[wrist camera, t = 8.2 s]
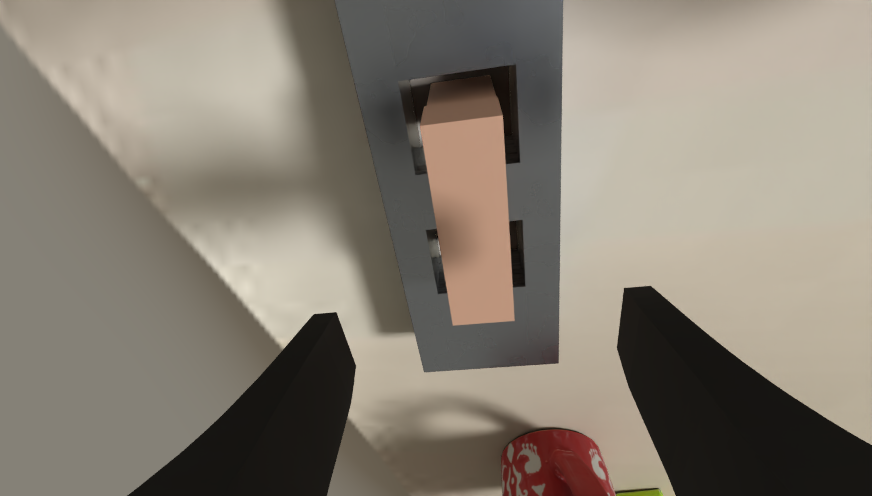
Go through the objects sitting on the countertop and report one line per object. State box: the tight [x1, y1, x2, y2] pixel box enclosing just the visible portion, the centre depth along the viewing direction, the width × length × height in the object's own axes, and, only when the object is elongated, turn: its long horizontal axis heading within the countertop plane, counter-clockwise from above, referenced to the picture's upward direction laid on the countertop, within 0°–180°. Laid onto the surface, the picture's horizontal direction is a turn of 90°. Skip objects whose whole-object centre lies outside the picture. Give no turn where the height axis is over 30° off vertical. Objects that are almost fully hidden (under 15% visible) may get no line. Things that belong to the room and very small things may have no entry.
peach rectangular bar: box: [420, 75, 515, 326], centre depth 17 cm, size 2×8×6 cm, turn 8°
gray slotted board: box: [335, 0, 563, 372], centre depth 18 cm, size 7×20×3 cm, turn 8°
